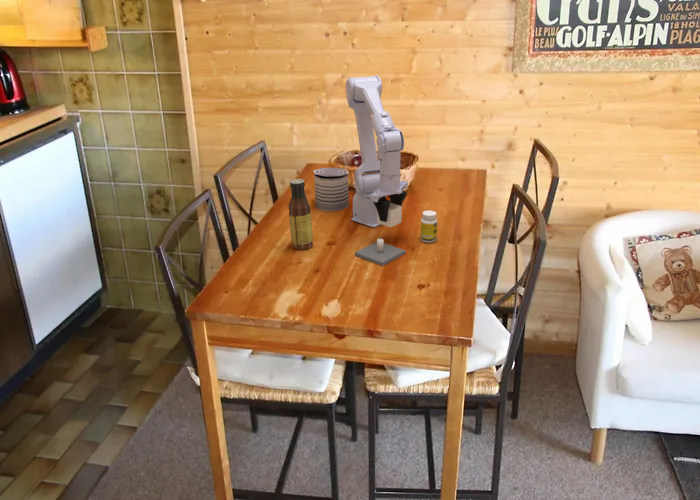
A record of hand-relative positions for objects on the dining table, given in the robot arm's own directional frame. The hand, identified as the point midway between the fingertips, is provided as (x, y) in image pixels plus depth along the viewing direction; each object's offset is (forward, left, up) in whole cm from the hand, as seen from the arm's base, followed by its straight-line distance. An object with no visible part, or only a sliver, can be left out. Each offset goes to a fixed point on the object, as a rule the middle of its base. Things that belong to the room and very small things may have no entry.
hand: (389, 217), depth 205 cm
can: (-32, +10, -7) cm, 34 cm away
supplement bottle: (+8, +8, -7) cm, 14 cm away
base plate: (+4, -9, -7) cm, 12 cm away
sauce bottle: (-17, -19, -7) cm, 27 cm away
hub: (0, 0, -1) cm, 1 cm away
